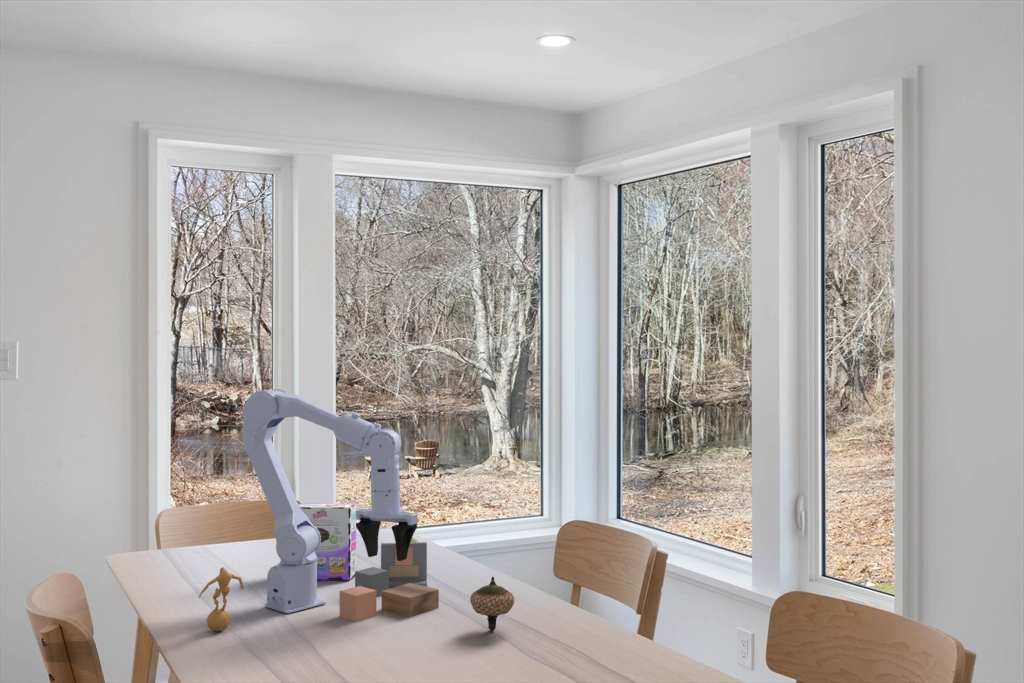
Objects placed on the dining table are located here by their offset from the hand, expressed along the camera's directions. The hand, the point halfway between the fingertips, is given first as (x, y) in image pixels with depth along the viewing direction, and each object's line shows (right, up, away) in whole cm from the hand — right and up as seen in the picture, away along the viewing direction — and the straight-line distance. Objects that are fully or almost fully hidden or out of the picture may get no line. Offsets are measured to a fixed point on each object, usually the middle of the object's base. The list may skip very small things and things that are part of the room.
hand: (387, 558), depth 179 cm
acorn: (+21, -10, -15) cm, 28 cm away
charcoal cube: (-5, -10, +10) cm, 15 cm away
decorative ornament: (0, -11, +44) cm, 46 cm away
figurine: (-28, -10, -16) cm, 34 cm away
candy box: (-18, -10, +24) cm, 32 cm away
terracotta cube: (-5, -10, -6) cm, 13 cm away
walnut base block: (+5, -10, -1) cm, 11 cm away
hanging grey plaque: (+1, -10, +18) cm, 21 cm away
